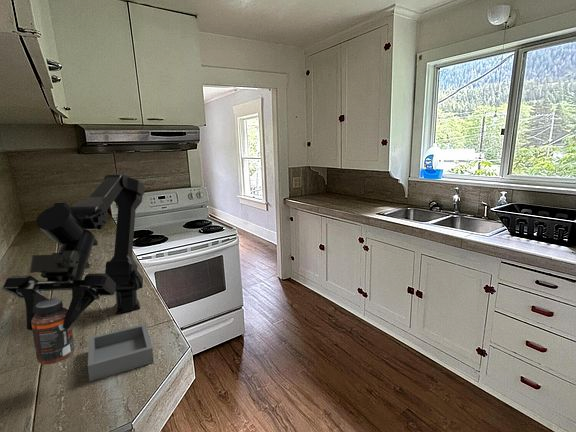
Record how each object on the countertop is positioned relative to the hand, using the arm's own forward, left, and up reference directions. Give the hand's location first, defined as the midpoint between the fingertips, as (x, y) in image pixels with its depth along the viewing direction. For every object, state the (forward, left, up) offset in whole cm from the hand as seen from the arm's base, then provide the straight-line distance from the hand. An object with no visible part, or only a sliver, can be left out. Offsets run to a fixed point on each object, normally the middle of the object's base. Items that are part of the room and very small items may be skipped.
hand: (47, 329), depth 59 cm
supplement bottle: (-1, +1, -7) cm, 7 cm away
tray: (-5, +12, -13) cm, 18 cm away
